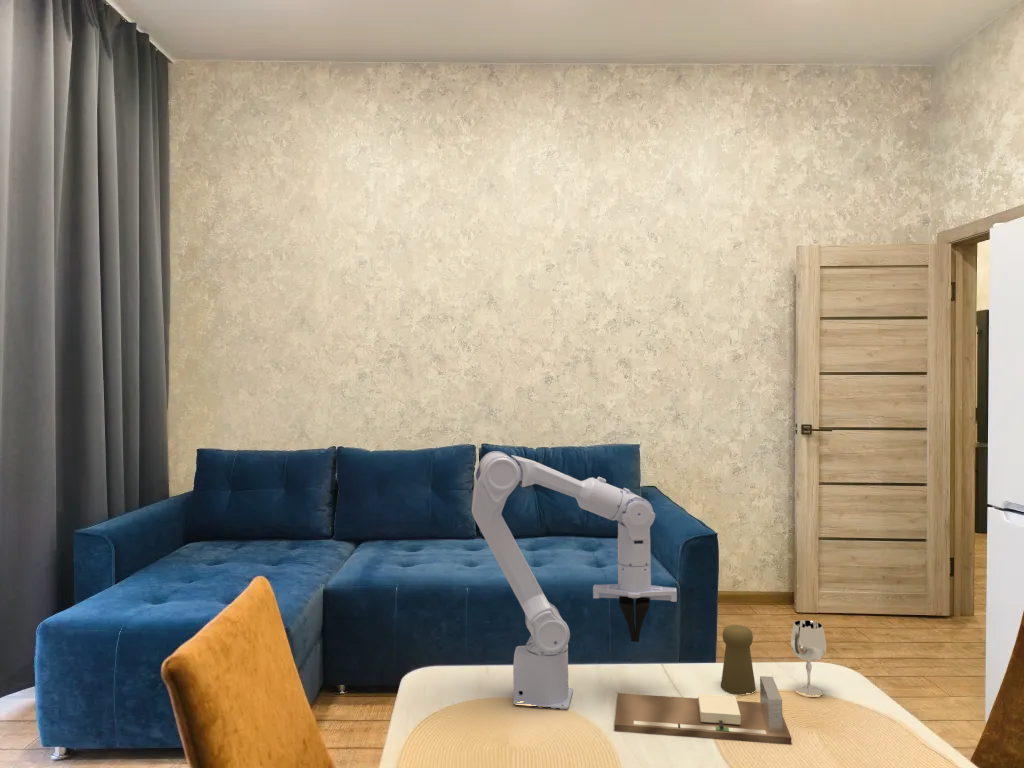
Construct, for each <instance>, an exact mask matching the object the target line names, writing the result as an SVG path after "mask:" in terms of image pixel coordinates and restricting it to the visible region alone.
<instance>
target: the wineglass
mask: <svg viewBox="0 0 1024 768" xmlns="http://www.w3.org/2000/svg"><path fill="white" fill-rule="evenodd" d="M792 625H793V626H792V629H791V635H790V636H791V637H790V646H791V650H792V652H793V653H794V656H796V657H798V658H799V659H800V660H802V661H806V663H805V669H806V673H807V674H806V675H807V684H806V686H799V687H797V688H795V692H796V691H798V692H801V693H805V694H806V695H811V696H813V695H814V696H815V695H822V696H823V692H822V690H820V689H818V688H815V687H812V684H811V672H812V670H813V669H812V662H817V661H819V660H822V658H823V657H824V656H825V655H826V651H827V640H826V634H825V630H824V627H823V624H822V623H820V622H819V621H818V622H817V621H813V620H806V619H802V620H801V619H799V620H796V621H794V622H793V624H792Z"/></svg>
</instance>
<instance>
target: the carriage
mask: <svg viewBox="0 0 1024 768" xmlns="http://www.w3.org/2000/svg"><path fill="white" fill-rule="evenodd" d="M736 697H737V696H736V695H735V696H733V695H720V694H719V695H718V694H706V693H703V694H702V693H697V698H698V705H699V712H700V718H701V722H711V723H719V725H720V728H723V729H724V726H723V723H725V724H739V725H741V719H740V711H739V708H738V704H737V701H738V700H737V698H736Z"/></svg>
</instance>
